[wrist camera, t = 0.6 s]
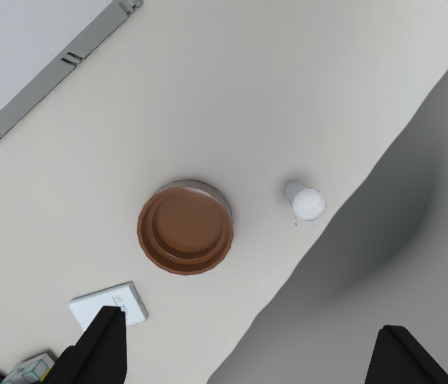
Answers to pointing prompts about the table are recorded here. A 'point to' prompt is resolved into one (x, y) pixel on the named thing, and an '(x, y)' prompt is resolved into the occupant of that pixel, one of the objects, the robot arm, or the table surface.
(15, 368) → the toy vehicle
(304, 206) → the milkshake
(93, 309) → the hard drive
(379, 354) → the robot arm
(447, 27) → the table surface
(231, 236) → the bowl
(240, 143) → the table surface
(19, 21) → the power supply unit
